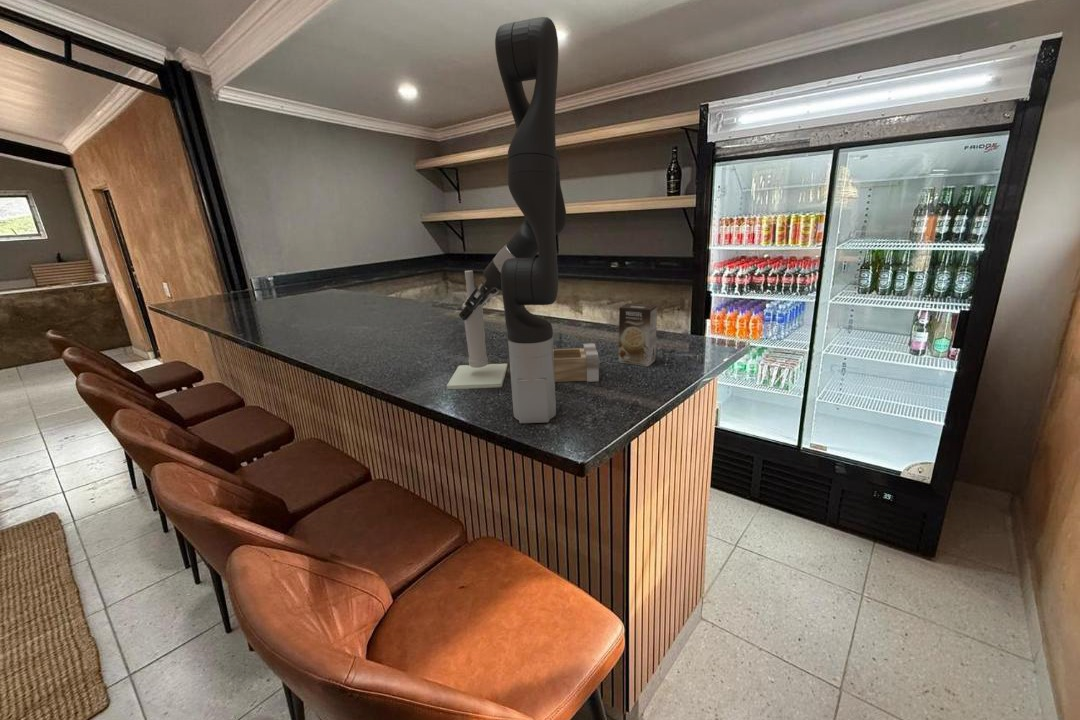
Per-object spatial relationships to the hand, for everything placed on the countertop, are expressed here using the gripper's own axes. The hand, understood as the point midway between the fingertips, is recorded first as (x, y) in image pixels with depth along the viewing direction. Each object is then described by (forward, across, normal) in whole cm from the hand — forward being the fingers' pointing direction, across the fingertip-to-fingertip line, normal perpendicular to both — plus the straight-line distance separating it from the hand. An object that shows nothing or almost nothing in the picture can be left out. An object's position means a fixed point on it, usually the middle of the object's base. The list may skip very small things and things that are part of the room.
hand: (467, 315), depth 117 cm
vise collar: (-5, -5, +30) cm, 31 cm away
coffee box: (-17, -19, +42) cm, 49 cm away
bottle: (+9, 0, +11) cm, 14 cm away
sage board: (+11, 0, +13) cm, 17 cm away
